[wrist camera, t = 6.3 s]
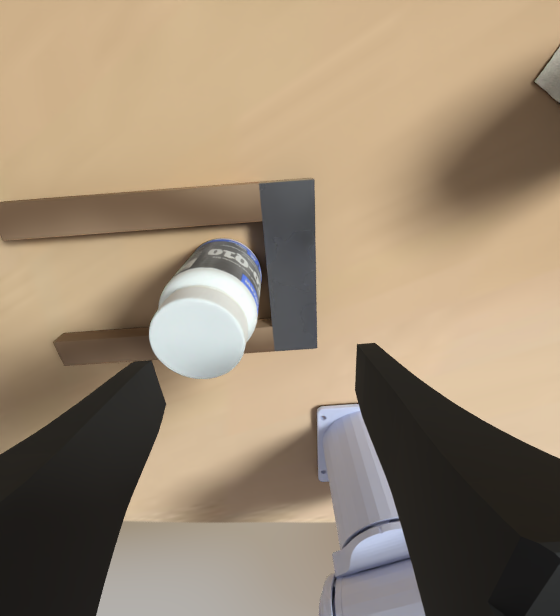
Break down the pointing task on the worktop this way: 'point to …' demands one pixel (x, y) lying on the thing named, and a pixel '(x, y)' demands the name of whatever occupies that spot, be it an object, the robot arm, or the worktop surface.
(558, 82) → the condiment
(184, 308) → the pill bottle
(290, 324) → the panel
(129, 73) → the worktop surface
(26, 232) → the guide channel
